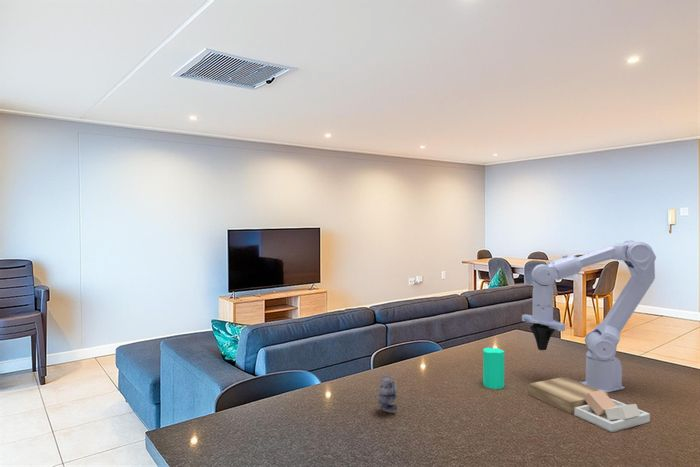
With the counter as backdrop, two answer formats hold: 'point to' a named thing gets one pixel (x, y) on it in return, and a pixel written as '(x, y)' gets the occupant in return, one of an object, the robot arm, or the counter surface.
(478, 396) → the counter surface
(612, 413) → the cream tile
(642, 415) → the tray
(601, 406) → the terracotta tile
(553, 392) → the board
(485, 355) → the candle
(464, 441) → the counter surface
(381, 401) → the grey stone figurine
